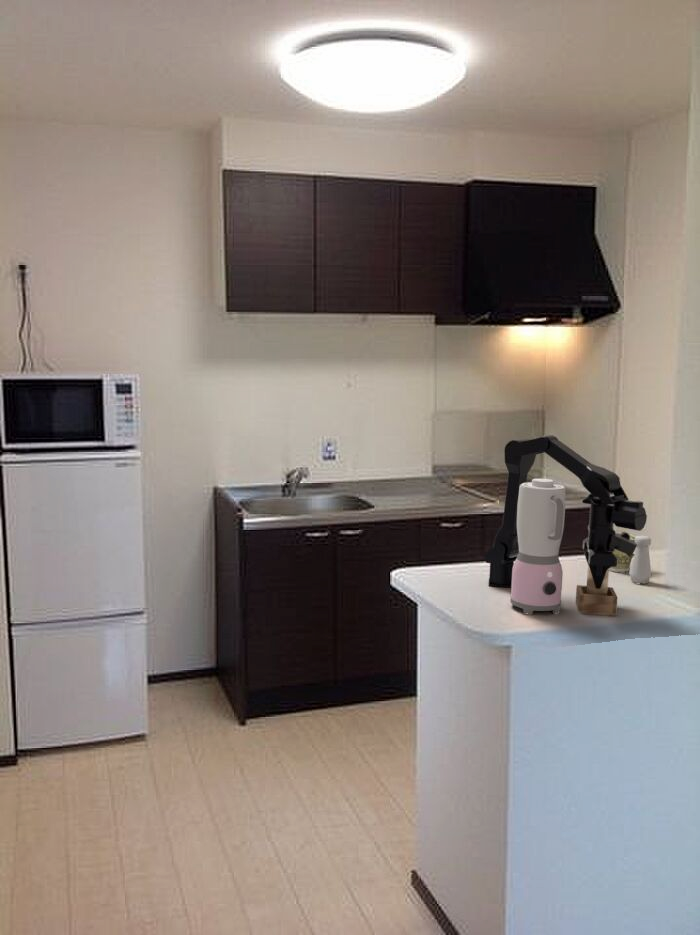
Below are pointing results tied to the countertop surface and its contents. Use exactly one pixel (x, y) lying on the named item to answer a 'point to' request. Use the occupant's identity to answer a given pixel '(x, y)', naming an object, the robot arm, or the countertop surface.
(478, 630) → the countertop surface
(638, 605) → the countertop surface
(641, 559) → the salt shaker
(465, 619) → the countertop surface
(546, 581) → the blender
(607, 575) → the beech peg
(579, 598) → the wooden square box
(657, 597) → the countertop surface
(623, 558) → the ceramic cup
